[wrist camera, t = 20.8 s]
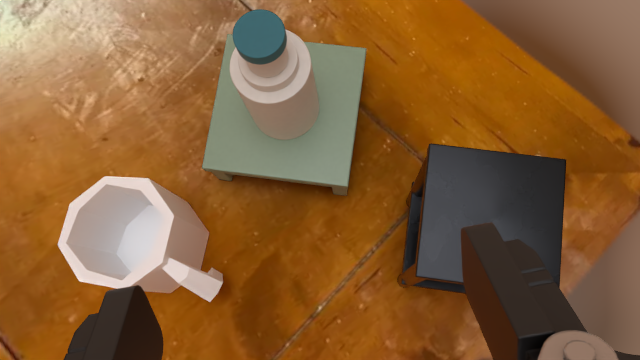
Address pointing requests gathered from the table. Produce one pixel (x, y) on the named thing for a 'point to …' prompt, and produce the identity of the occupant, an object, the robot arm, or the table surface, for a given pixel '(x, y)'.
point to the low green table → (299, 153)
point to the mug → (137, 239)
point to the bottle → (274, 75)
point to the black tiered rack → (480, 210)
